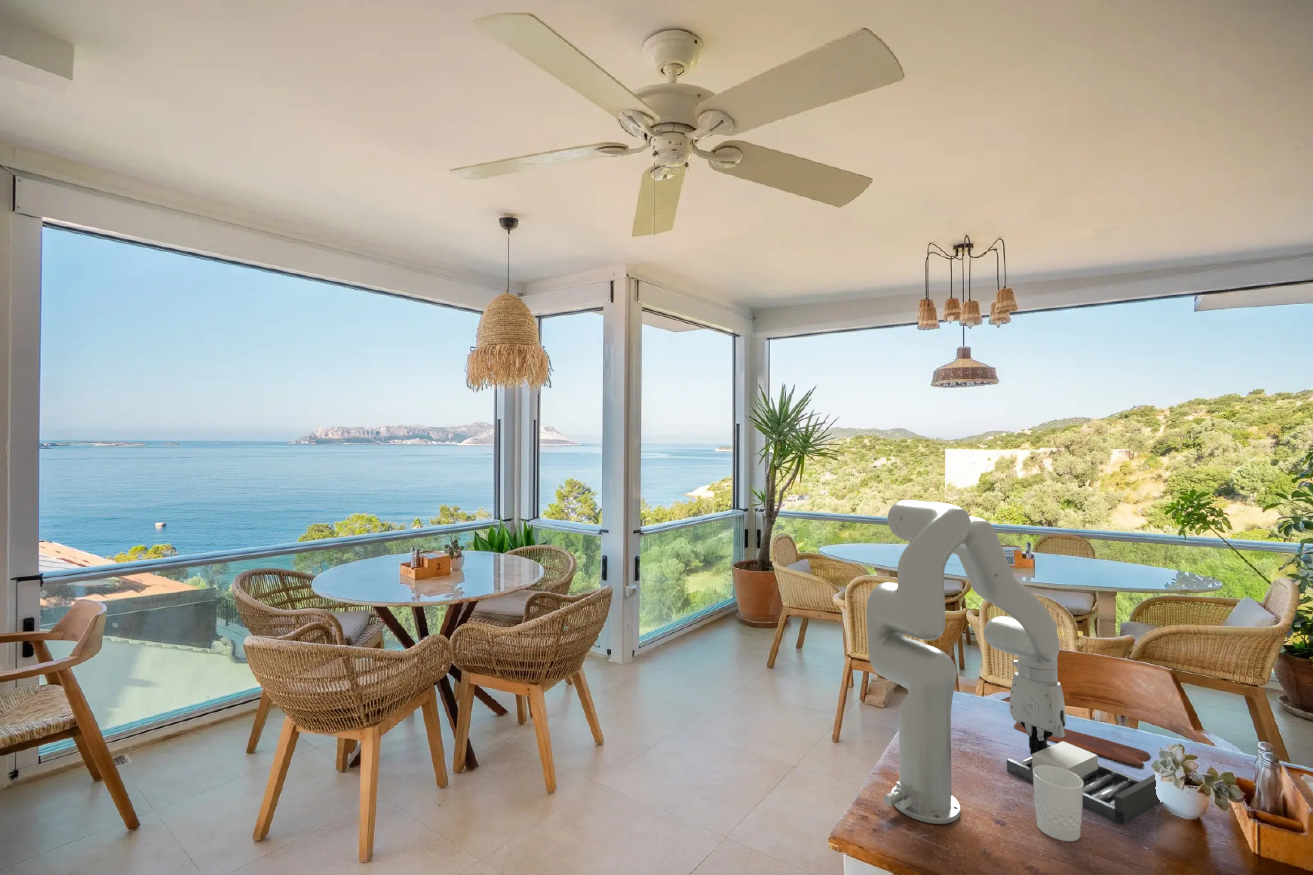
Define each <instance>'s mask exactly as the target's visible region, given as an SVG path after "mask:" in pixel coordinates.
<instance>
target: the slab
mask: <svg viewBox="0 0 1313 875" xmlns="http://www.w3.org/2000/svg"><path fill="white" fill-rule="evenodd" d="M1031 757H1032V768H1034V767H1036V766H1040V765H1049V766H1055V767H1060V768H1063V769H1066V770H1068V771H1071V772H1073V773H1074V774H1076V775H1078V776H1079V777H1083V776H1085V775H1087V774H1089V773H1091V772H1093V771H1095V770H1097V769H1098V763H1099V761H1098V758H1099V757H1098V755H1096V754H1094V753H1091V752H1089V751H1086V750H1084V749H1081V748H1079V747H1076V746H1074V745H1071V744H1069V743H1066V742H1064V741H1062V742H1060V743H1055V744H1053V745H1052V746H1050V747H1048V748H1045V749H1043V750H1041V751H1038V752H1036V753H1033V754H1032V755H1031Z"/></svg>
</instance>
